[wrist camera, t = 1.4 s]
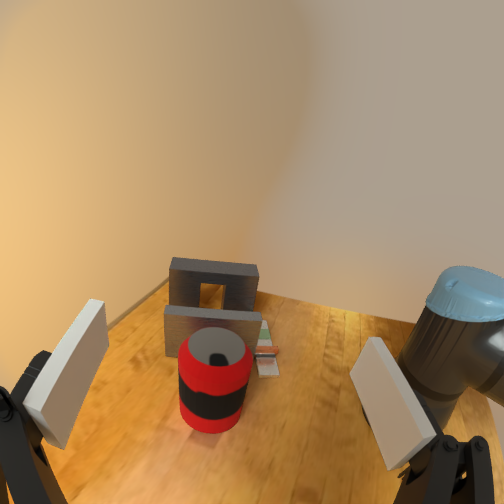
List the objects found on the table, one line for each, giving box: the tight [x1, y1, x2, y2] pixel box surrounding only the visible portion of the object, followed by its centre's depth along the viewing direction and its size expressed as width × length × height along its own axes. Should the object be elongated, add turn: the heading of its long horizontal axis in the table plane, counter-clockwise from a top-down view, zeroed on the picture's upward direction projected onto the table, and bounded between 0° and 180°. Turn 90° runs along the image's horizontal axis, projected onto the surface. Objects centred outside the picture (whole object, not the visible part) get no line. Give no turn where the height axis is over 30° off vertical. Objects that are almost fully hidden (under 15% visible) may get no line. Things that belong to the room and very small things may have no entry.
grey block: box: [164, 305, 279, 360], centre depth 42 cm, size 17×7×8 cm, turn 97°
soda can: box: [178, 327, 253, 434], centre depth 29 cm, size 8×8×12 cm
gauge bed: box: [169, 257, 280, 378], centre depth 43 cm, size 17×16×10 cm
